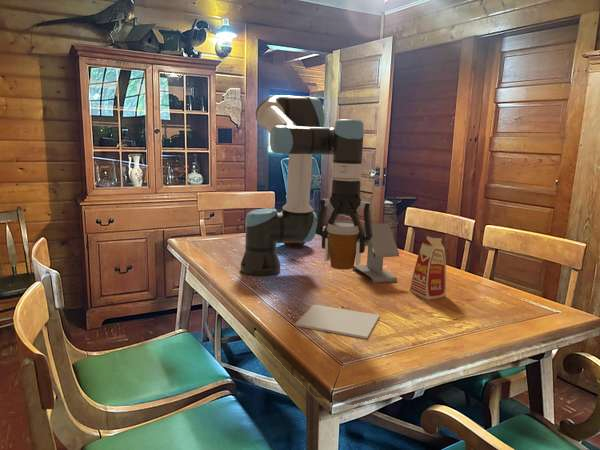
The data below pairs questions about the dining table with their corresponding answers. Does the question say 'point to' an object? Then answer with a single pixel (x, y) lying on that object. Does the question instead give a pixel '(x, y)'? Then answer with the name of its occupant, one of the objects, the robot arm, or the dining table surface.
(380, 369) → the dining table surface
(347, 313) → the grey mat
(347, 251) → the disposable coffee cup
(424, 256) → the milk carton
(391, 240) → the folded metal stand
